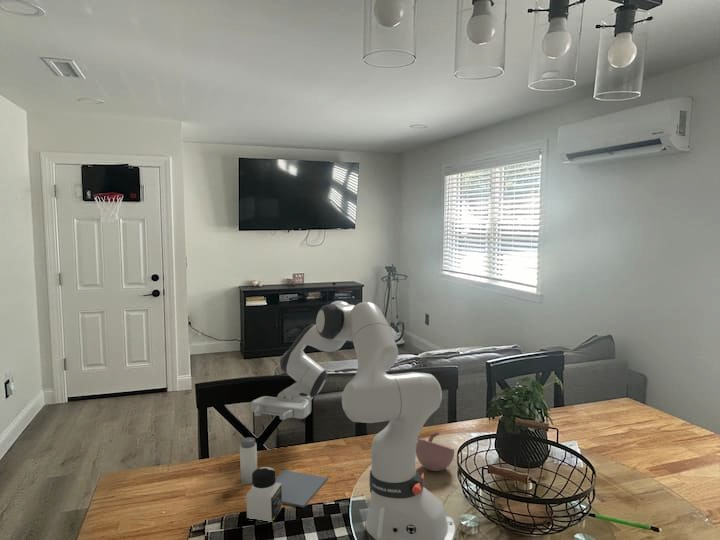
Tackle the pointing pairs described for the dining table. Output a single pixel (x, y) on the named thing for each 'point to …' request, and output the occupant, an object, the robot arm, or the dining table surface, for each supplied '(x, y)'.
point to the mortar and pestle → (434, 454)
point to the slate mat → (299, 487)
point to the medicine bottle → (264, 495)
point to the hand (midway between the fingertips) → (268, 415)
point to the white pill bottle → (248, 459)
